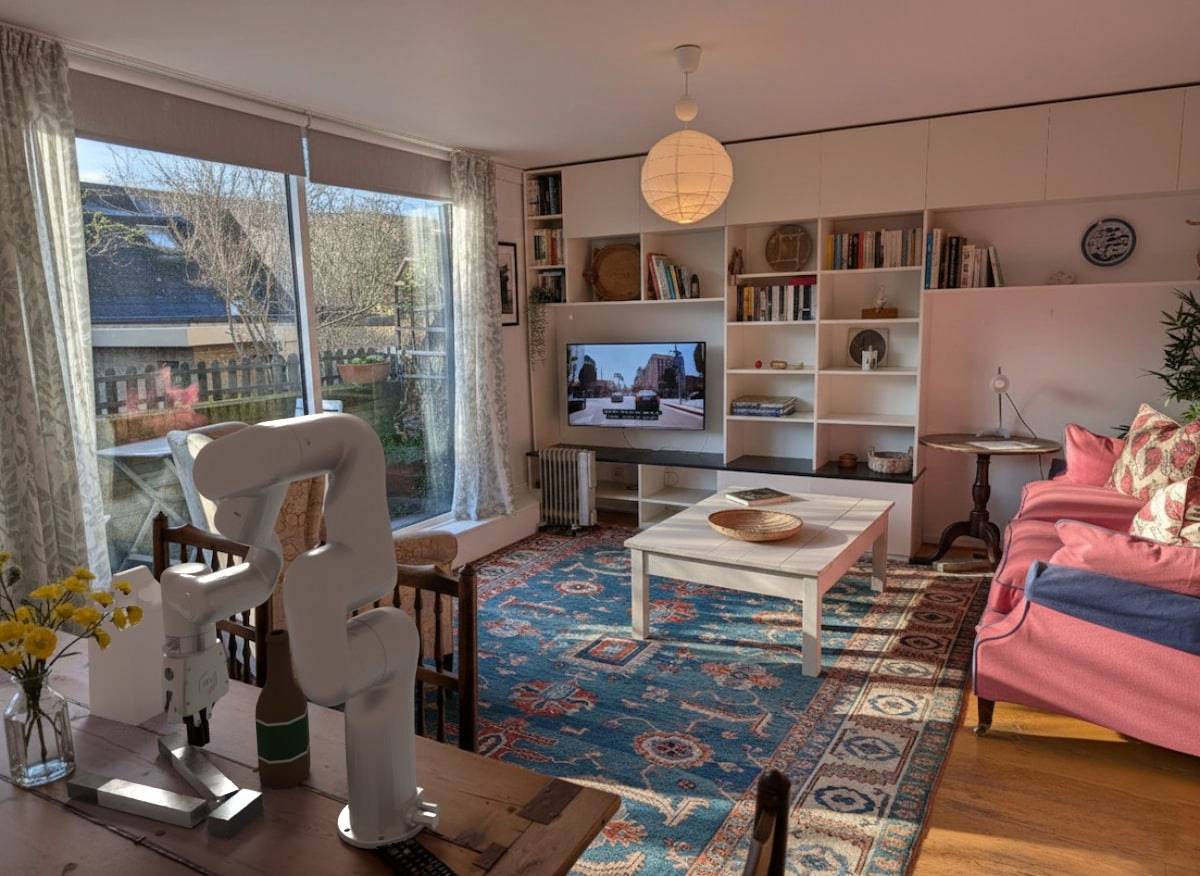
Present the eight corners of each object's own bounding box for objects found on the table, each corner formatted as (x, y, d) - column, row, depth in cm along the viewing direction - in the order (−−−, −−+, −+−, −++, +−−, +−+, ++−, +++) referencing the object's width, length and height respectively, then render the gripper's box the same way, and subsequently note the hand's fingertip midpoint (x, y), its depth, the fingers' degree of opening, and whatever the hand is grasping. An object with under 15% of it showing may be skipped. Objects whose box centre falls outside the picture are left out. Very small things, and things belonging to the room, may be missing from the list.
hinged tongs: (263, 811, 120) (262, 793, 120) (229, 839, 114) (227, 820, 113) (107, 774, 129) (106, 757, 129) (68, 799, 123) (66, 780, 123)
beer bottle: (294, 794, 125) (285, 644, 121) (248, 787, 126) (238, 639, 122) (321, 766, 132) (314, 624, 128) (277, 760, 134) (269, 620, 130)
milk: (147, 686, 160) (136, 557, 156) (191, 696, 156) (181, 564, 152) (89, 714, 149) (76, 576, 145) (135, 726, 145) (123, 584, 140)
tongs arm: (245, 809, 120) (244, 794, 120) (213, 824, 117) (212, 807, 116) (177, 745, 138) (176, 731, 137) (148, 755, 134) (147, 741, 134)
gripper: (172, 661, 126) (181, 771, 129) (243, 625, 140) (249, 726, 143) (134, 654, 128) (144, 762, 131) (207, 620, 142) (215, 719, 145)
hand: (199, 743), depth 137 cm, fingers closed
